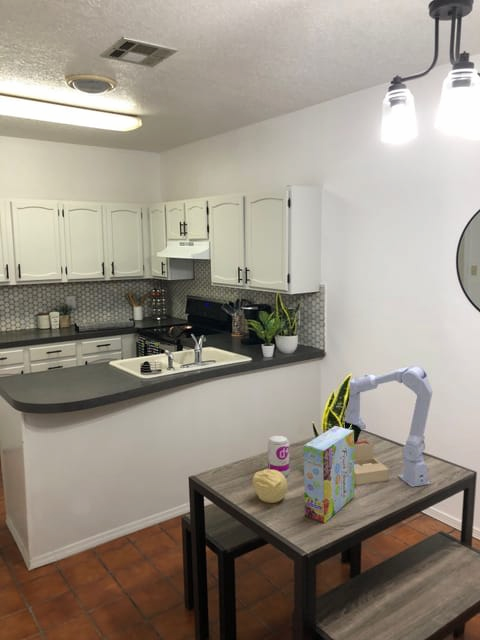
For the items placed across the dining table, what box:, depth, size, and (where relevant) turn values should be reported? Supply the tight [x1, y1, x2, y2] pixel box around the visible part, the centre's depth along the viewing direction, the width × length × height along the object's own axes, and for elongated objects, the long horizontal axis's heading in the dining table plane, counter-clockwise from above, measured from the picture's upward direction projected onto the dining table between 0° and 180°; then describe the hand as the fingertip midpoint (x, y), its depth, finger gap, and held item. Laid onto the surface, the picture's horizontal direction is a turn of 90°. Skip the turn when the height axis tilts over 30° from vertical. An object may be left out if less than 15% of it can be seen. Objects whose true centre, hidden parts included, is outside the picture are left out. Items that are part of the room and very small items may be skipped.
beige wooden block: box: [354, 439, 375, 460], centre depth 207 cm, size 6×14×5 cm
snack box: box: [303, 425, 355, 524], centre depth 176 cm, size 22×9×26 cm, turn 141°
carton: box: [354, 457, 390, 486], centre depth 200 cm, size 12×14×4 cm
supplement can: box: [267, 434, 290, 478], centre depth 202 cm, size 8×8×15 cm
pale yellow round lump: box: [251, 468, 288, 504], centre depth 183 cm, size 12×12×11 cm
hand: (352, 440), depth 210 cm, fingers open, 3 cm apart
